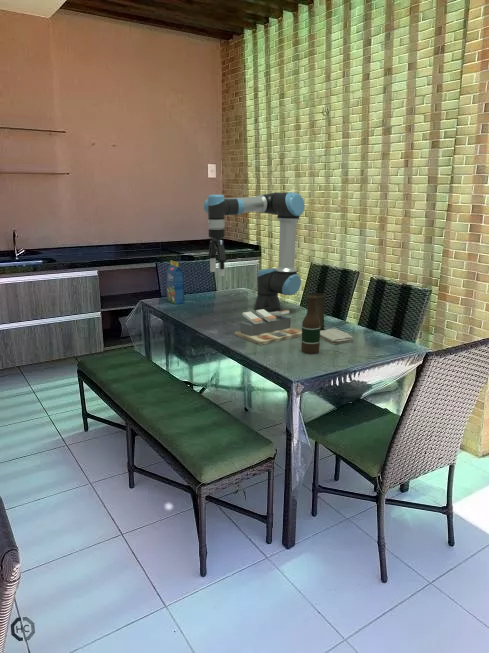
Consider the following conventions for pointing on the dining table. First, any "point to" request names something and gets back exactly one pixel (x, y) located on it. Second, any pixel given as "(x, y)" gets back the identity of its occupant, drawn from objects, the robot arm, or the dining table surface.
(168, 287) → the blue food package
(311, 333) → the beer bottle
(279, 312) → the switch
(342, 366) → the dining table surface
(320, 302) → the container
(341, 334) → the washcloth
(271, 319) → the switch middle
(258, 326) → the switch housing
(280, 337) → the switch board
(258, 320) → the switch
